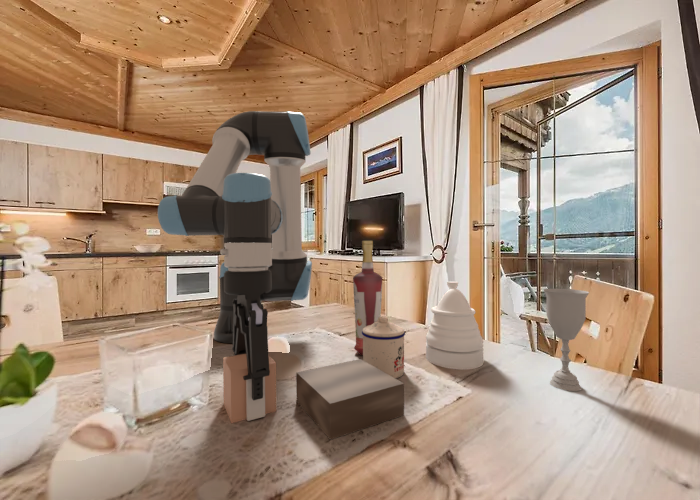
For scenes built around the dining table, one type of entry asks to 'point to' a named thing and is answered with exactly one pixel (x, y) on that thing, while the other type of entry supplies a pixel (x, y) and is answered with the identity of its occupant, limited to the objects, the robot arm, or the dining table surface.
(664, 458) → the dining table surface
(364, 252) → the liquor
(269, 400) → the terracotta block
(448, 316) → the honey pot
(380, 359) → the teacup with lid
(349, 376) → the plinth
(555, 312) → the chalice
